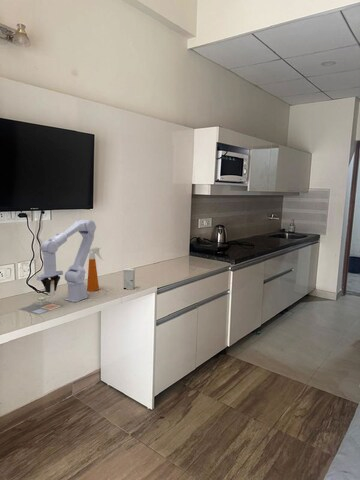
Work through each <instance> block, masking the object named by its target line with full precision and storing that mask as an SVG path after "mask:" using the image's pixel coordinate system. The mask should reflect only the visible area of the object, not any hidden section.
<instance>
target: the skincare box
mask: <svg viewBox="0 0 360 480" xmlns="http://www.w3.org/2000/svg"><path fill="white" fill-rule="evenodd" d="M135 276H136V269H135V268H132V267H131V268H129V267H125V268H124V269H123V285H122V286H123V288H126V289H125V290H134V289H135V288H136V286H135V282H136V281H135V280H136V277H135ZM134 287H135V288H134ZM133 288H134V289H133Z"/></svg>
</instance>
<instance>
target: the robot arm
mask: <svg viewBox="0 0 360 480" xmlns="http://www.w3.org/2000/svg"><path fill="white" fill-rule="evenodd" d="M96 230H97V225H96V223H95V221H94V220H91V219H90V220H89V219H88V220H87V219H80V218H79V219H77V220H75V221H74V223H73V224H72V225H71V226H69V227H68V228H67V229H66V230H64V231H63V232H56V233H55V235H54V236H52V237H50V238H48V240H45V241H43V242H42V243H41V245H40V246H39V249H40V251H41V252H42V256H43V259H42V260H43V273H42V274H40V275H37V276H36V281H39V282H41V283H42V284H43V287H44V289H45V293H47V294H48V293H50V284H51V280H54V291H57V287H58V284H59V283H60V282H59V281H60V279H61V276H63V275H64V280H65V281H66V283H67V293H68V294H67V295H68V296H67V297H66V298H65V299H64V300H65V301H69V302H72V303H77V302H80V301H82V300H85V299H87V298H88V297H89V296H87V294H88V293H87V291H88V290H87V284H86V282H84V281H85V278H86V276H85V275H86V269H85V268H84V267H85V263H86V261H87V258H88V257H89V250H90V249H91V247H92V244H93V241H94V238H95V231H96ZM76 233H79V234H80V235H81V236H82V240H81V243H80V245H79V248H78V250H77V254H76V256H75V258H74V262H73V264H72V265H70V266H69V267H68V268H67V270H66V271H65V274H64V270H57V258H56V256H57V255H56V253H57V251H58V250H59V248H60V247H61V246H62V245H64V244H65V243H66V242H67V241H68V238H69V237H71V236H73V235H74V234H76Z"/></svg>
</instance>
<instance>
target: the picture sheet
mask: <svg viewBox="0 0 360 480" xmlns="http://www.w3.org/2000/svg"><path fill="white" fill-rule="evenodd" d="M61 307H64V305H62V304H58V303H54V302H49V303H48V304H45V305H42V306H41V305H36V304H35V303H34V304H33V303H32V304H31V305H28V306H24V307H21V308H19V309H18V310H20V311H24V312H27V313H32V314H35V315H42V314H44V313H48V312H50V311H53V310H55V309H59V308H61Z"/></svg>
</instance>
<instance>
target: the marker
mask: <svg viewBox="0 0 360 480" xmlns="http://www.w3.org/2000/svg"><path fill="white" fill-rule="evenodd" d="M47 296H48V297H53V296H55V291H54V280H51V284H50V293H47Z"/></svg>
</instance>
